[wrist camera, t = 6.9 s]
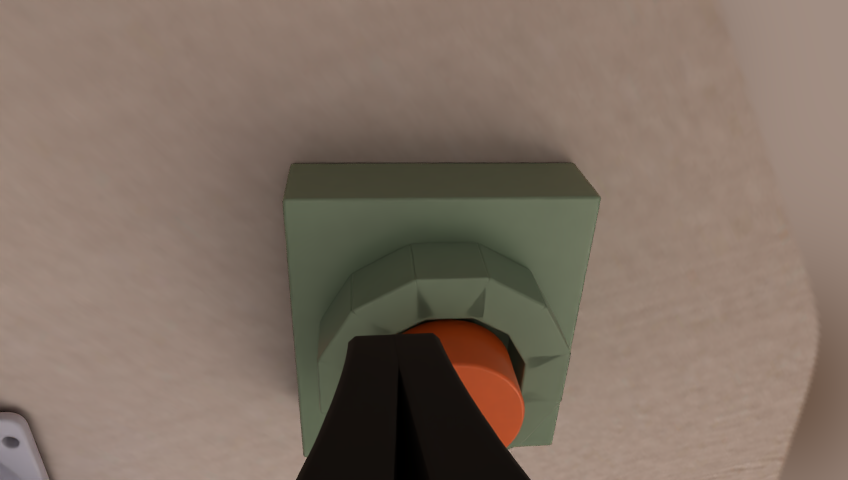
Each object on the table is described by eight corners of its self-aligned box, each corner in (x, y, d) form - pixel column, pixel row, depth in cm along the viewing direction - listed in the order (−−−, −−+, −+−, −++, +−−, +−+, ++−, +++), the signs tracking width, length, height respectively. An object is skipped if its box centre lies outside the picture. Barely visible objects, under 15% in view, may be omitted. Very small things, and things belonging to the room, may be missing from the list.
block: (534, 395, 22) (567, 490, 19) (307, 405, 21) (299, 505, 18) (574, 161, 18) (628, 229, 14) (290, 162, 17) (273, 234, 13)
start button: (502, 418, 17) (516, 469, 16) (374, 424, 17) (377, 476, 16) (517, 315, 16) (534, 362, 14) (375, 319, 15) (377, 367, 14)
